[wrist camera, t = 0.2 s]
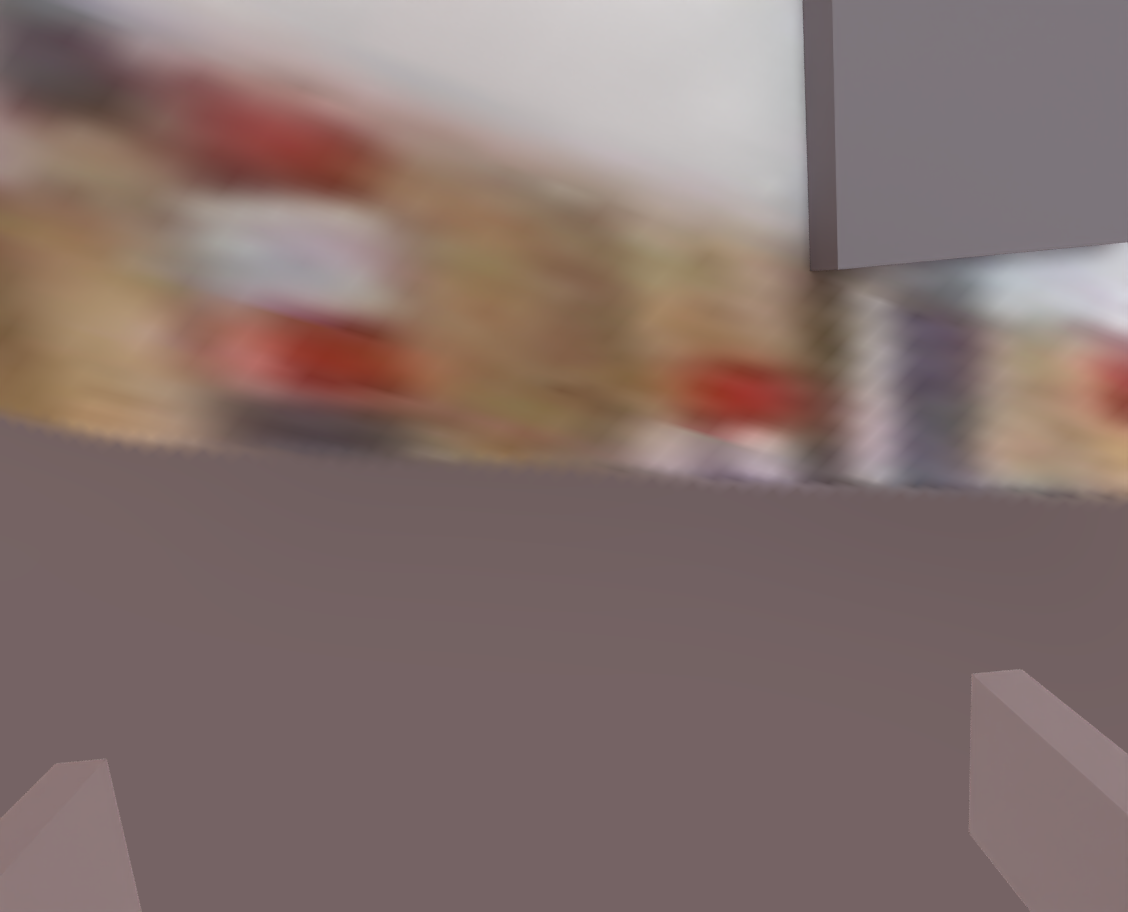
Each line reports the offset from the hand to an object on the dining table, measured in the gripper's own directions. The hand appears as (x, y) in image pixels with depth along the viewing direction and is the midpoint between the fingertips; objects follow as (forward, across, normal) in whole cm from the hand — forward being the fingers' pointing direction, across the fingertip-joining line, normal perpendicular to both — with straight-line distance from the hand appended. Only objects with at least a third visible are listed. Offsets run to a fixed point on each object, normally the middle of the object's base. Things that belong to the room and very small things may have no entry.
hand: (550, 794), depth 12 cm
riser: (+28, +20, +14) cm, 38 cm away
